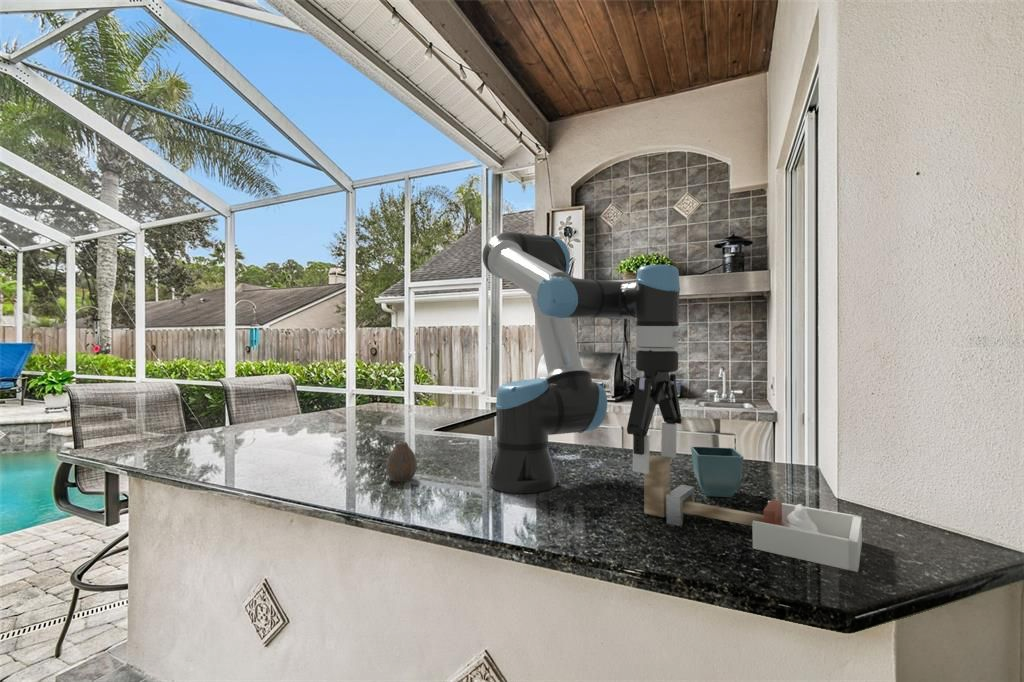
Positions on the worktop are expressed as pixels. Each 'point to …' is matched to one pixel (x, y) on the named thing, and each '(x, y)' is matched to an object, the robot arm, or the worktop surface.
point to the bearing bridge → (678, 504)
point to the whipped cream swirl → (800, 520)
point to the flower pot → (717, 470)
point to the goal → (814, 538)
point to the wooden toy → (660, 486)
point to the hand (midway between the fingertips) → (655, 464)
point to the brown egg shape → (401, 463)
